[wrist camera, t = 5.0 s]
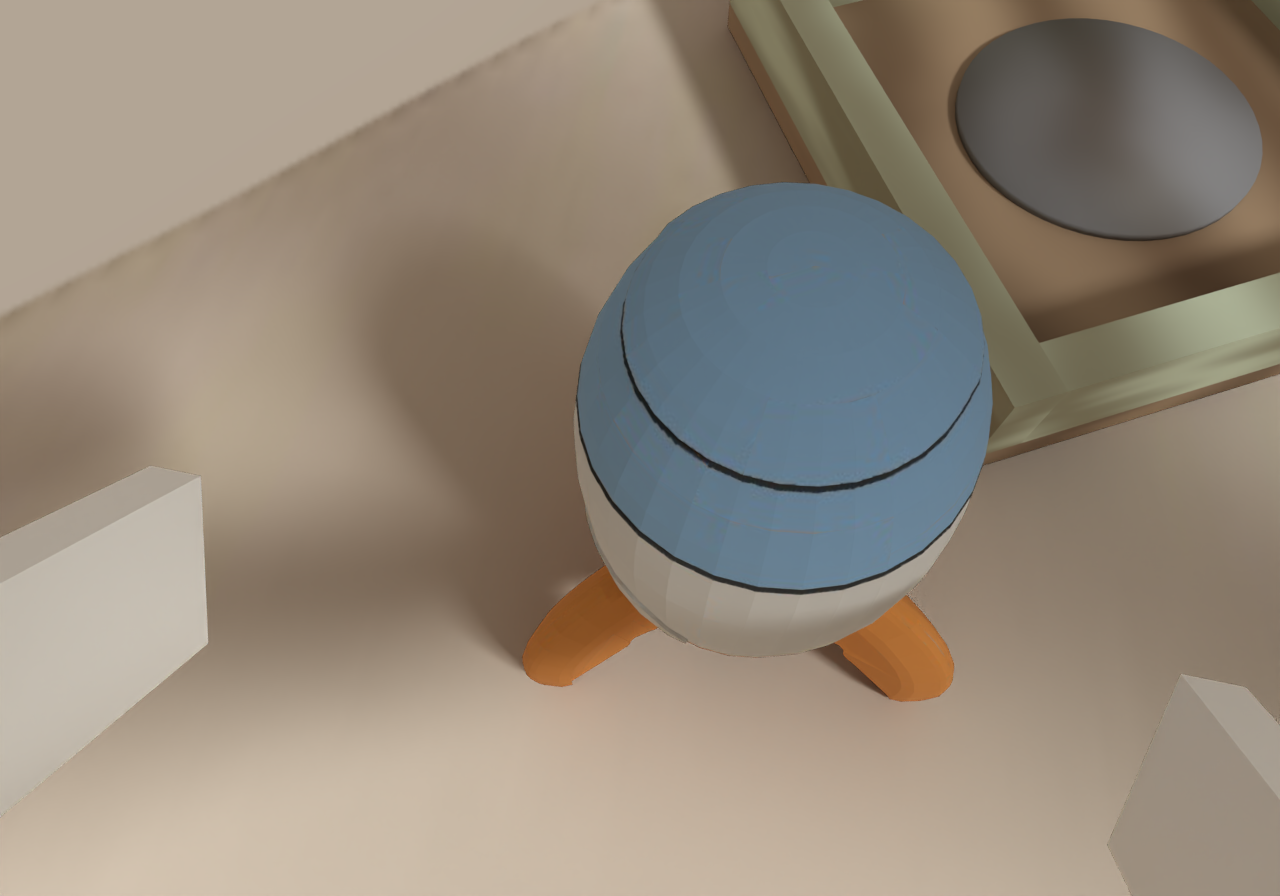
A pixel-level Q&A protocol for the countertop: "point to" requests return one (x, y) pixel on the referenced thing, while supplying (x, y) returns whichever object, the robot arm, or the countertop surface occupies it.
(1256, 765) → the robot arm
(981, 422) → the toy rocket
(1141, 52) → the cradle
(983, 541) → the countertop surface
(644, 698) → the countertop surface
